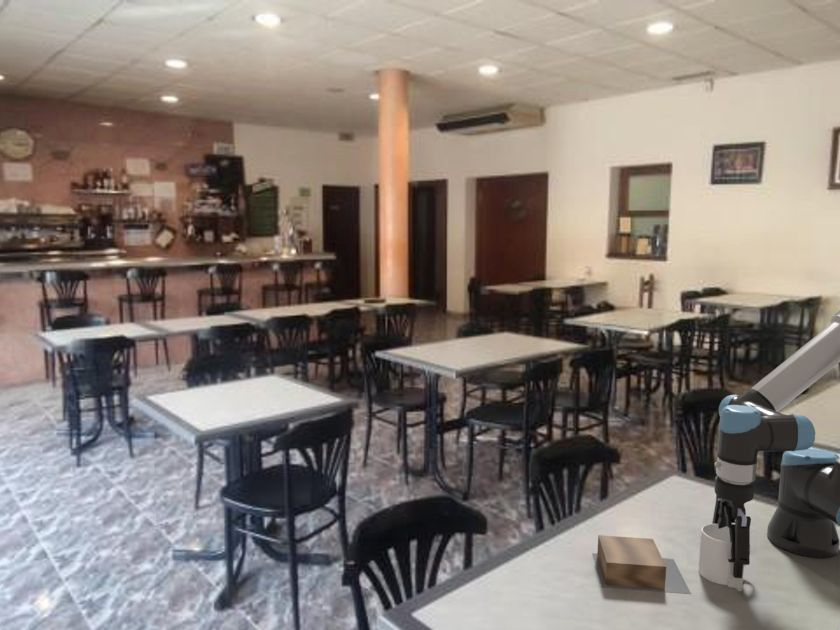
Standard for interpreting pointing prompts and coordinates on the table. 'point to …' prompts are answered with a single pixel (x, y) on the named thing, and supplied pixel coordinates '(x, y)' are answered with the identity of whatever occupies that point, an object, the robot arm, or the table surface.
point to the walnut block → (631, 562)
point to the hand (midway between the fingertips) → (726, 577)
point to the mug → (715, 553)
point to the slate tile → (672, 584)
